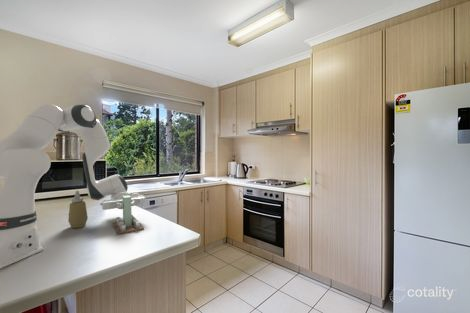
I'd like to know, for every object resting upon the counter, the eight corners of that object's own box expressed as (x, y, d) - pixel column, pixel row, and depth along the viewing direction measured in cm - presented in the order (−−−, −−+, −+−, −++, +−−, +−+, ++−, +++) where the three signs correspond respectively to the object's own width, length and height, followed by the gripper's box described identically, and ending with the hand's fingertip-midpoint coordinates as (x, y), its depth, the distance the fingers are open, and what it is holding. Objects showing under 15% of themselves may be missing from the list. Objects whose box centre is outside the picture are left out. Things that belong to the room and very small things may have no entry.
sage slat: (131, 225, 107) (131, 196, 107) (125, 226, 106) (124, 197, 105) (129, 222, 111) (129, 195, 111) (123, 224, 110) (122, 196, 109)
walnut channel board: (143, 229, 104) (143, 222, 104) (118, 235, 98) (117, 227, 98) (135, 220, 119) (135, 214, 119) (112, 224, 112) (112, 217, 112)
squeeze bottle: (64, 228, 109) (63, 192, 108) (80, 223, 116) (79, 189, 116) (75, 229, 106) (74, 192, 105) (91, 224, 113) (90, 189, 113)
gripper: (99, 197, 112) (102, 202, 101) (141, 192, 125) (148, 196, 113) (100, 209, 113) (102, 215, 101) (142, 203, 125) (148, 208, 114)
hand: (127, 205), depth 108 cm, fingers open, 3 cm apart
